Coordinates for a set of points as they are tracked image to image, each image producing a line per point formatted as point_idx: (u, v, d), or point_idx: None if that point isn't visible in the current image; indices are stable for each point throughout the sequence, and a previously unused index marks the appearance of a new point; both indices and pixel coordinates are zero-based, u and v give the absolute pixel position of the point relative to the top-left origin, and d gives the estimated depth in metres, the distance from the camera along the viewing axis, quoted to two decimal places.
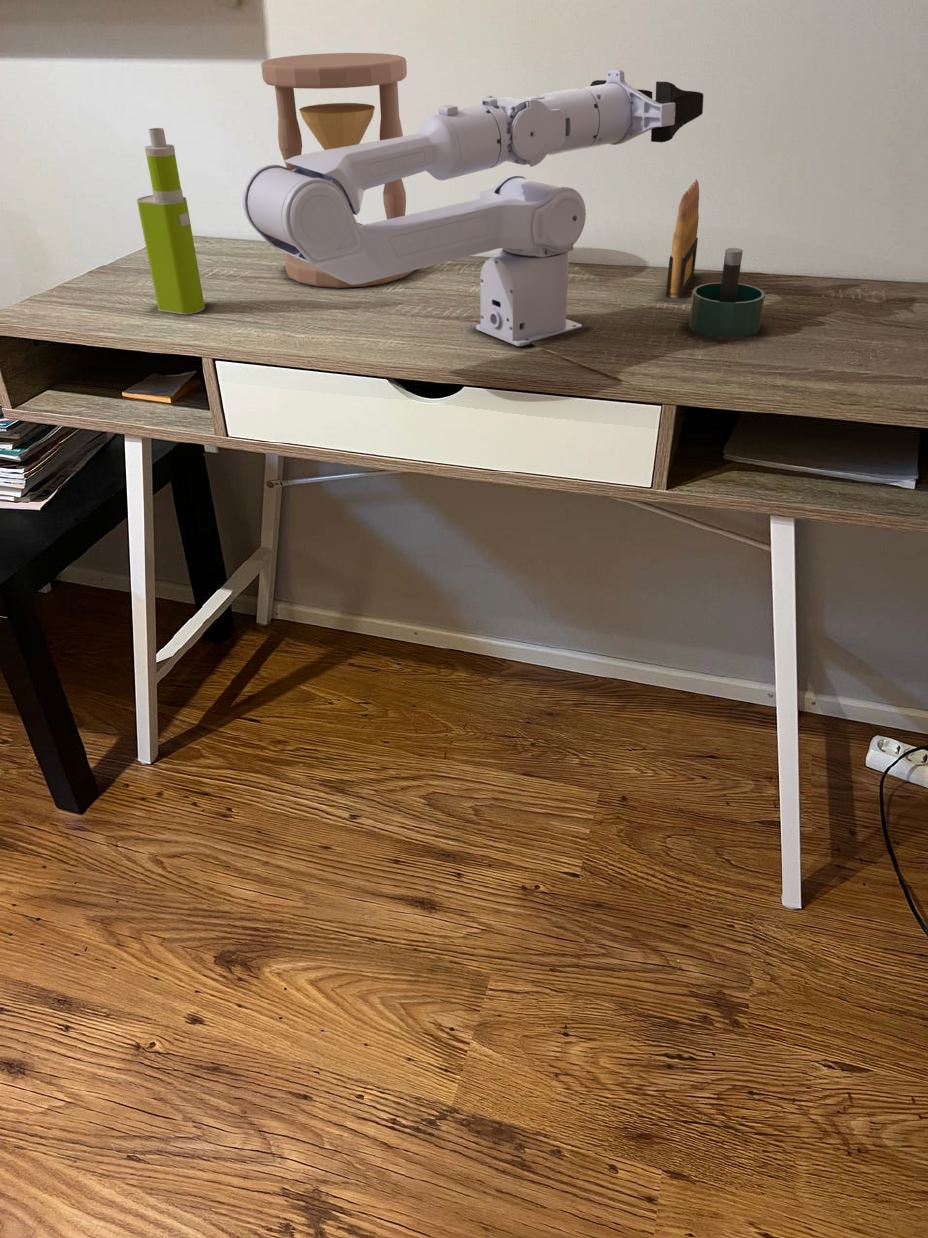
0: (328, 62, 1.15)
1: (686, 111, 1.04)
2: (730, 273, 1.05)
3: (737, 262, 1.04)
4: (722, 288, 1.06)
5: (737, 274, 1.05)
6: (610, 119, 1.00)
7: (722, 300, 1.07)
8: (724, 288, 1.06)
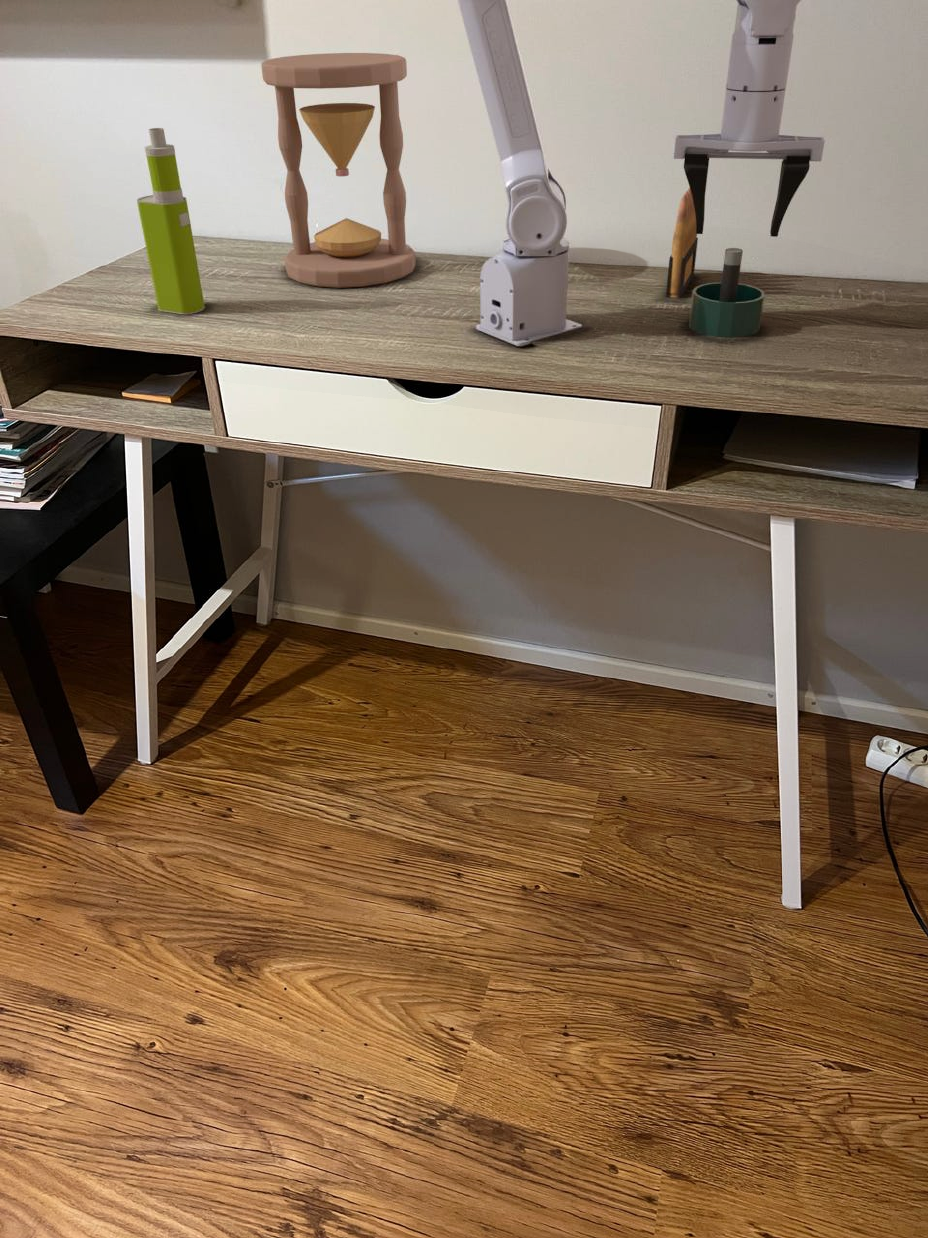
0: (328, 62, 1.15)
1: None
2: (730, 273, 1.05)
3: (737, 262, 1.04)
4: (722, 288, 1.06)
5: (737, 274, 1.05)
6: None
7: (722, 300, 1.07)
8: (724, 288, 1.06)
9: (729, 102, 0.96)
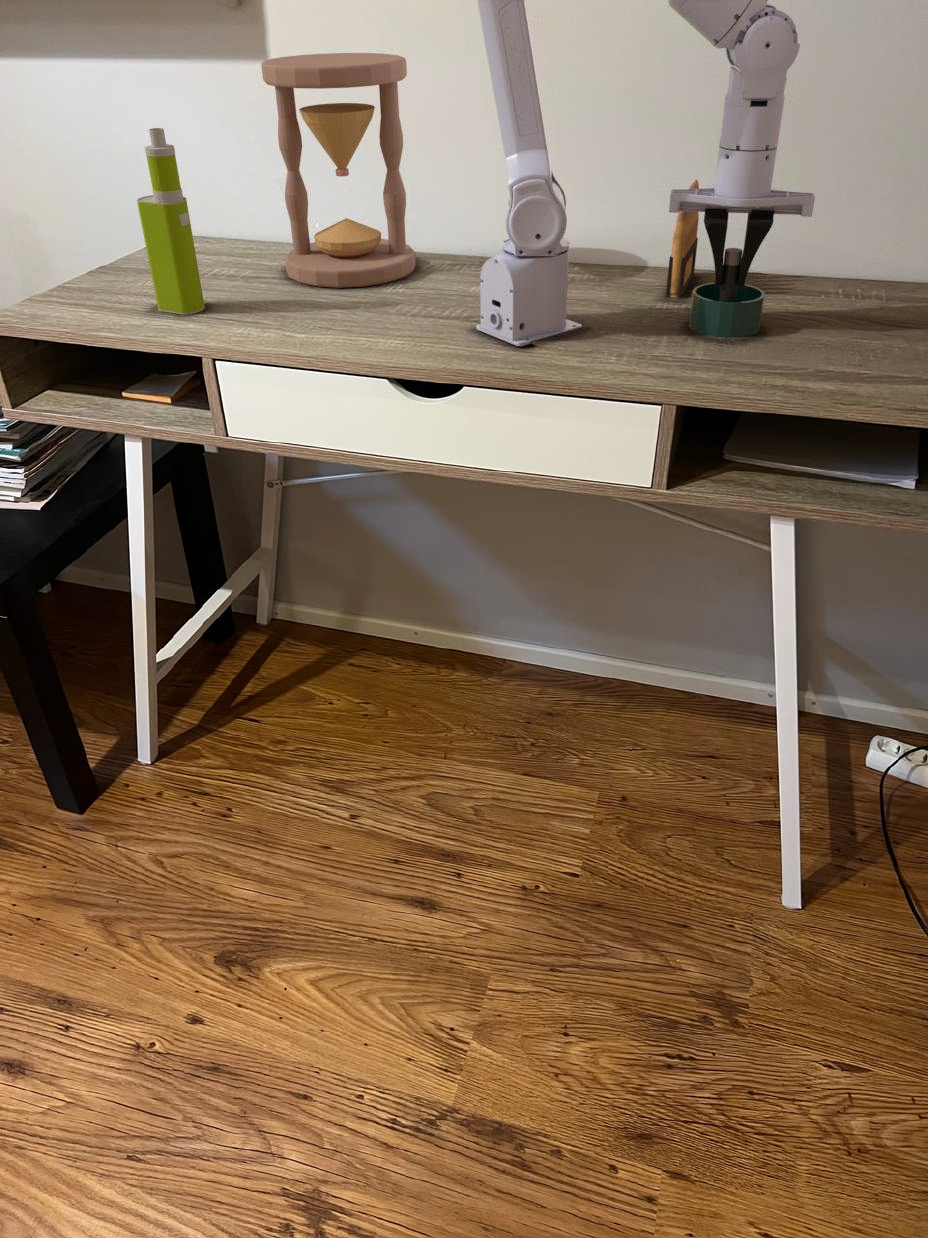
0: (328, 62, 1.15)
1: None
2: (730, 273, 1.05)
3: (737, 262, 1.04)
4: (722, 288, 1.06)
5: (737, 274, 1.05)
6: (774, 162, 0.99)
7: (722, 300, 1.07)
8: (724, 288, 1.06)
9: (722, 160, 0.99)
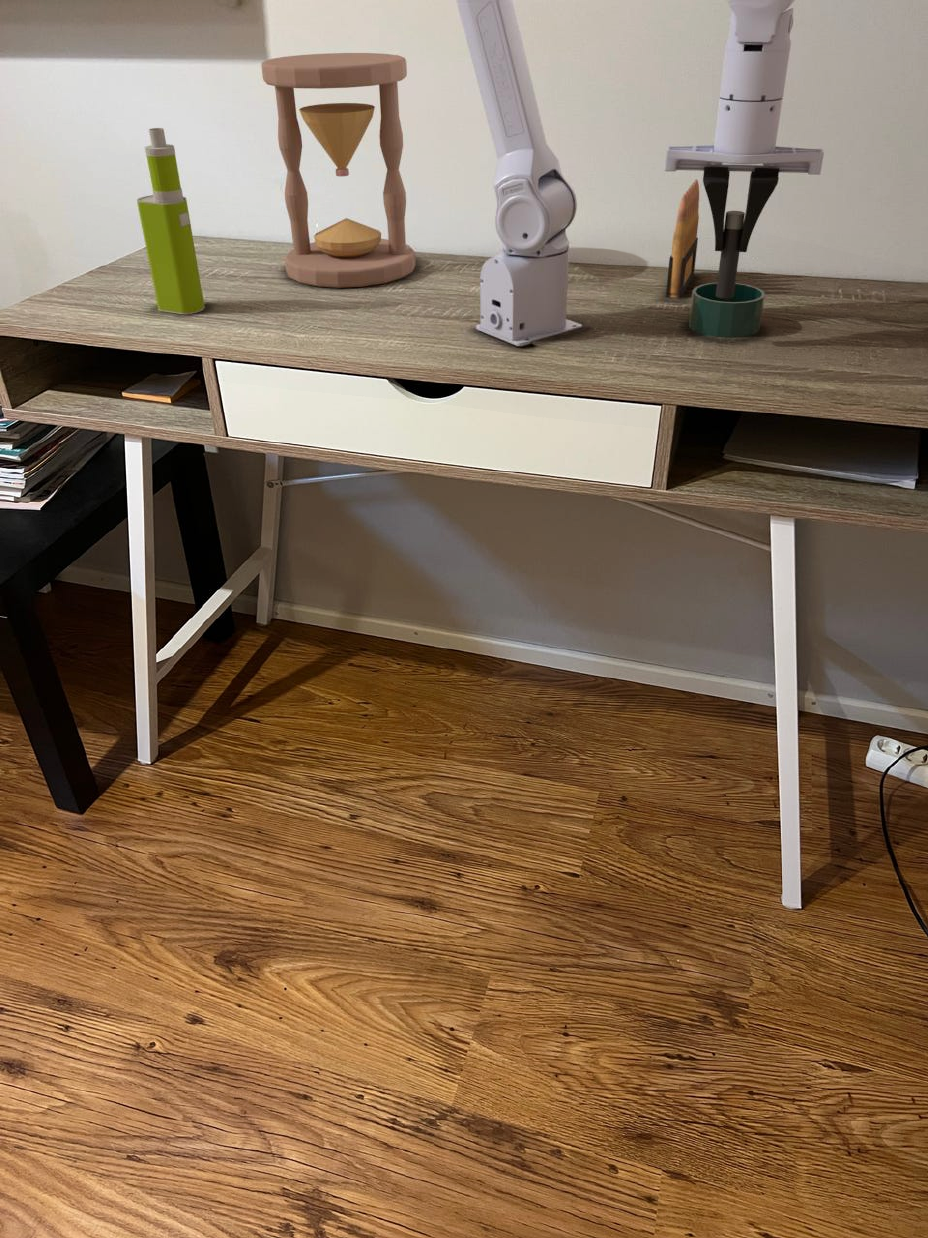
0: (328, 62, 1.15)
1: None
2: (731, 238, 0.97)
3: (739, 226, 0.96)
4: (722, 255, 0.98)
5: (739, 239, 0.97)
6: None
7: (722, 268, 0.99)
8: (725, 255, 0.98)
9: (723, 112, 0.90)
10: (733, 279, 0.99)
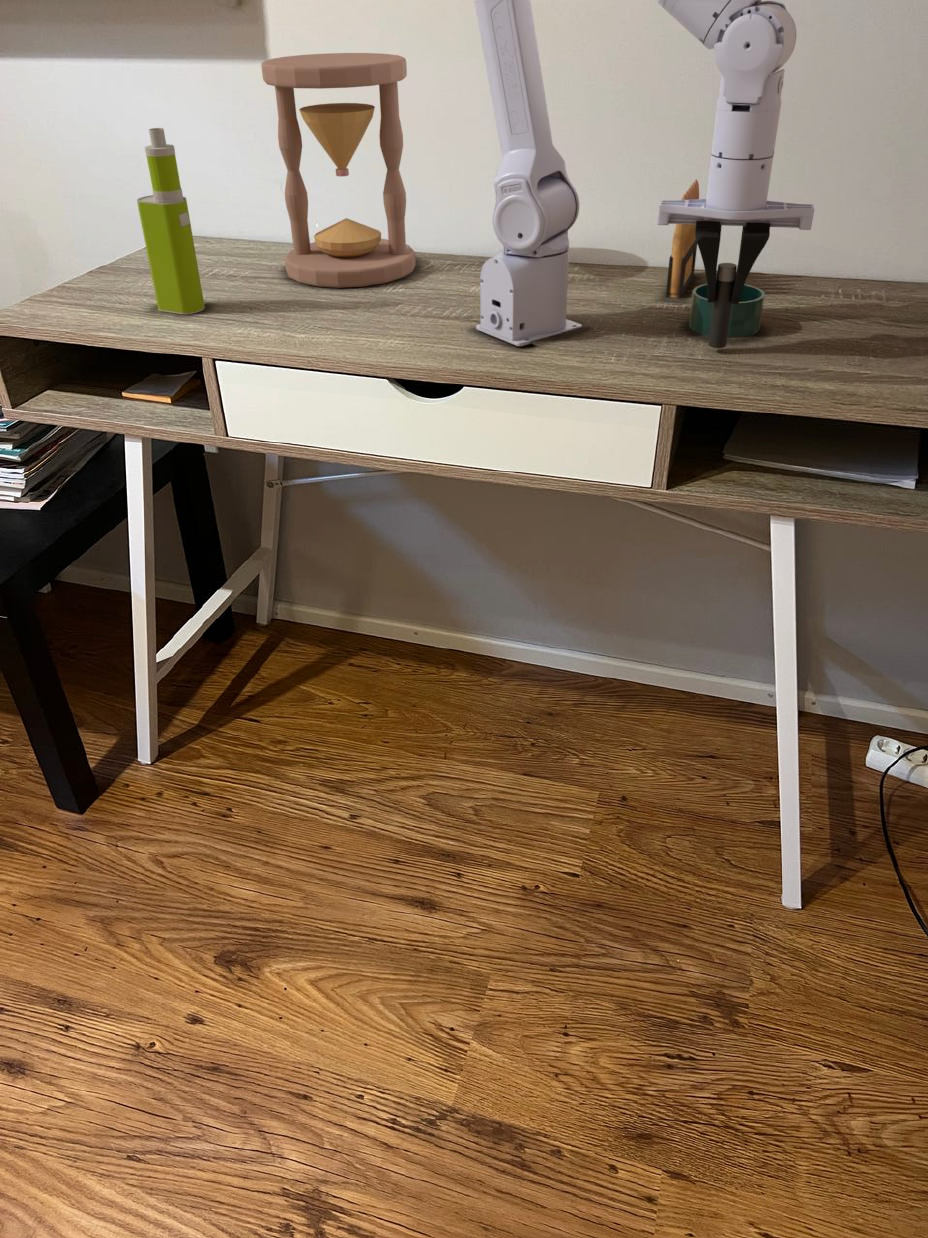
0: (328, 62, 1.15)
1: None
2: (724, 290, 0.98)
3: (731, 278, 0.97)
4: (715, 306, 0.99)
5: (731, 291, 0.98)
6: None
7: (715, 318, 1.00)
8: (717, 306, 0.99)
9: (714, 169, 0.91)
10: (725, 329, 1.00)
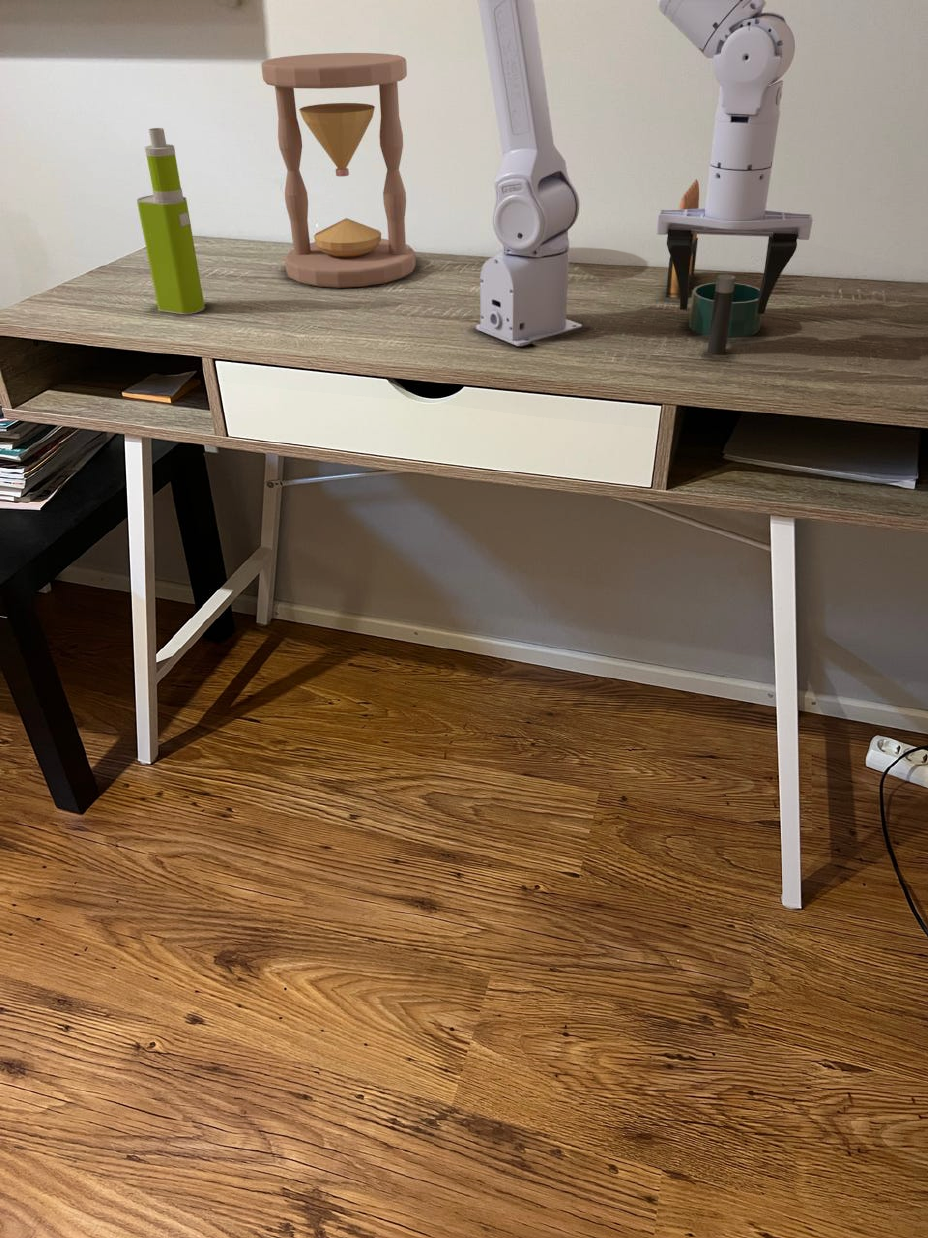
0: (328, 62, 1.15)
1: None
2: (722, 301, 0.99)
3: (729, 290, 0.98)
4: (713, 317, 1.00)
5: (729, 302, 0.99)
6: None
7: (713, 329, 1.01)
8: (716, 317, 1.00)
9: (713, 180, 0.92)
10: (724, 340, 1.01)
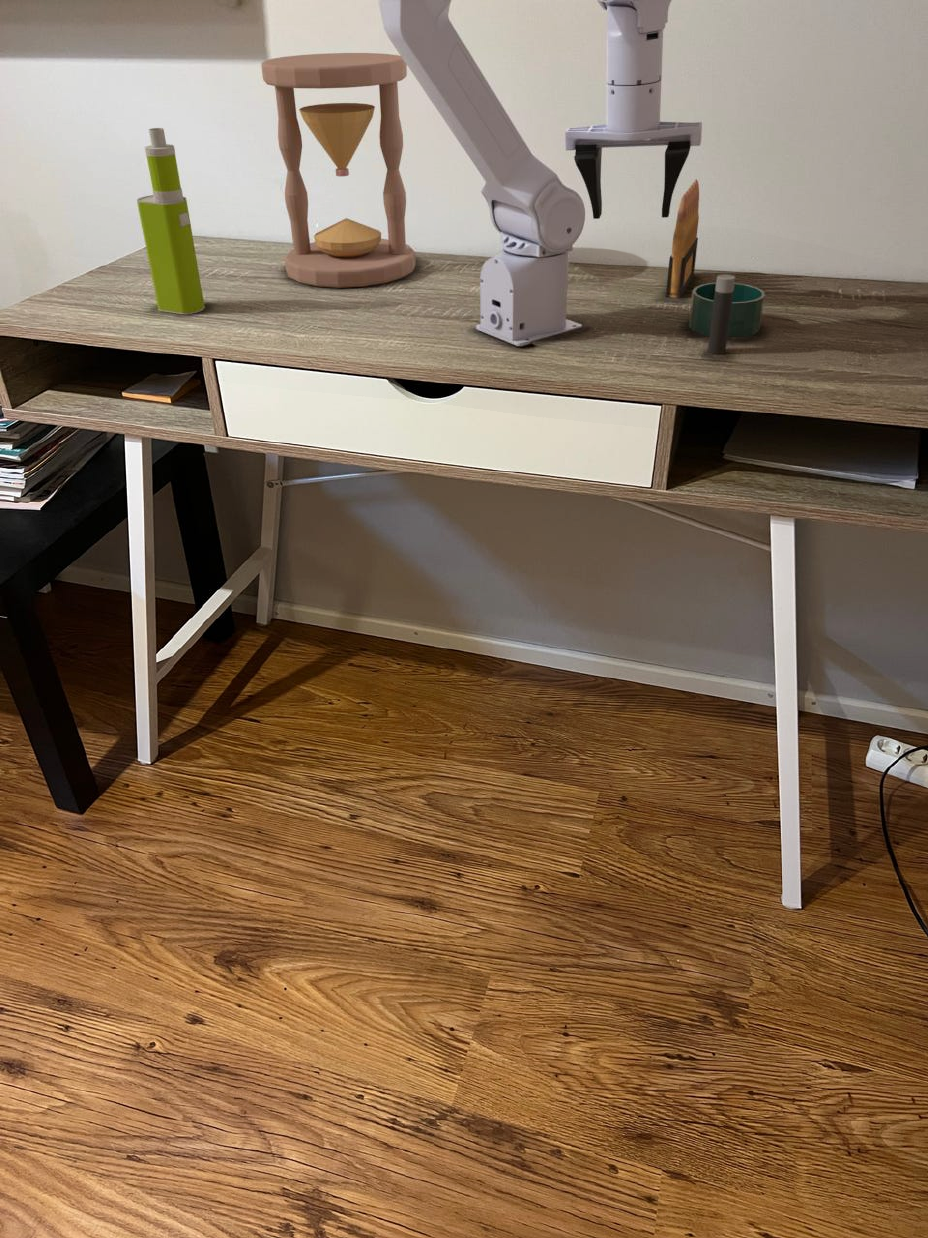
0: (328, 62, 1.15)
1: None
2: (722, 301, 0.99)
3: (729, 290, 0.98)
4: (713, 317, 1.00)
5: (729, 302, 0.99)
6: (660, 95, 1.03)
7: (713, 329, 1.01)
8: (716, 317, 1.00)
9: (609, 96, 1.03)
10: (724, 340, 1.01)
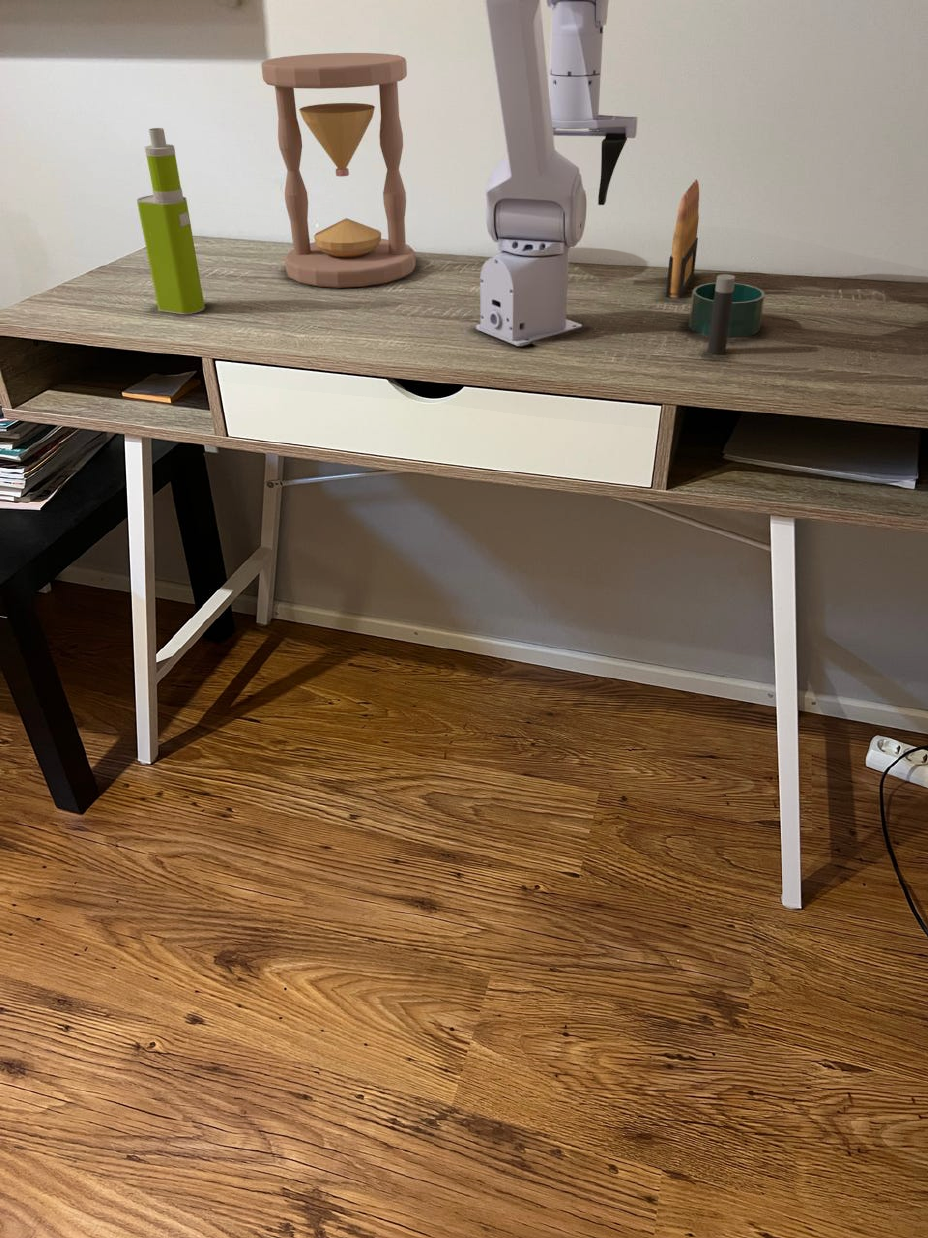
0: (328, 62, 1.15)
1: None
2: (722, 301, 0.99)
3: (729, 290, 0.98)
4: (713, 317, 1.00)
5: (729, 302, 0.99)
6: (599, 88, 1.10)
7: (713, 329, 1.01)
8: (716, 317, 1.00)
9: (551, 86, 1.09)
10: (724, 340, 1.01)
